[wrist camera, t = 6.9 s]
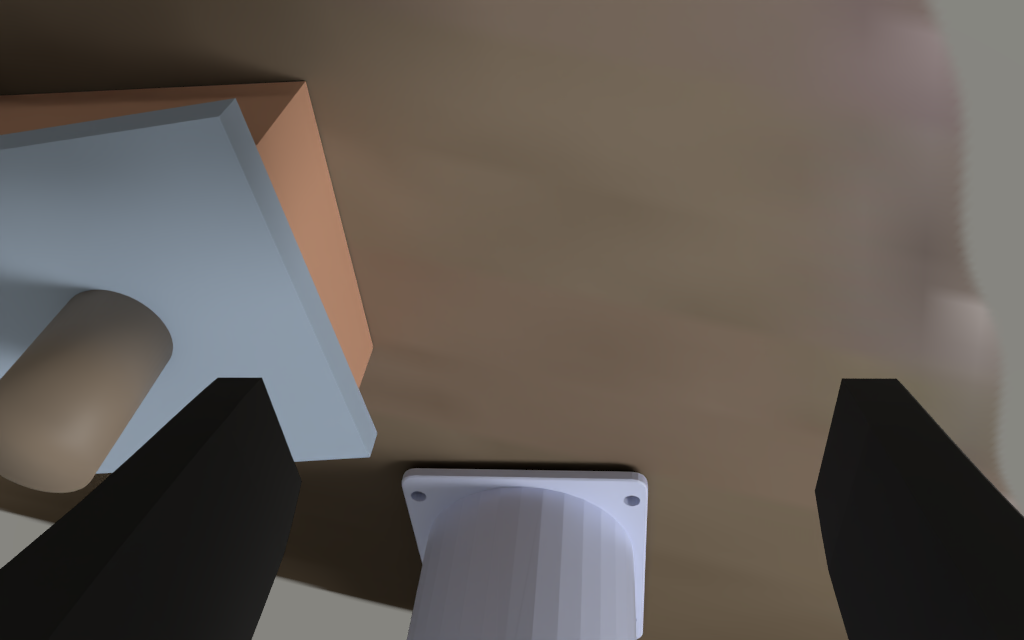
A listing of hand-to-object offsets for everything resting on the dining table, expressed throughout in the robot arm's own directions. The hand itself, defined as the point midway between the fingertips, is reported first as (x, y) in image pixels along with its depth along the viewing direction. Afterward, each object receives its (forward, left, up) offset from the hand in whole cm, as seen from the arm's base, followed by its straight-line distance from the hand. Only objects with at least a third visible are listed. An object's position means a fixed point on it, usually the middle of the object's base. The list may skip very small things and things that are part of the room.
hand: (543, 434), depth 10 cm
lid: (-3, +10, -6) cm, 12 cm away
